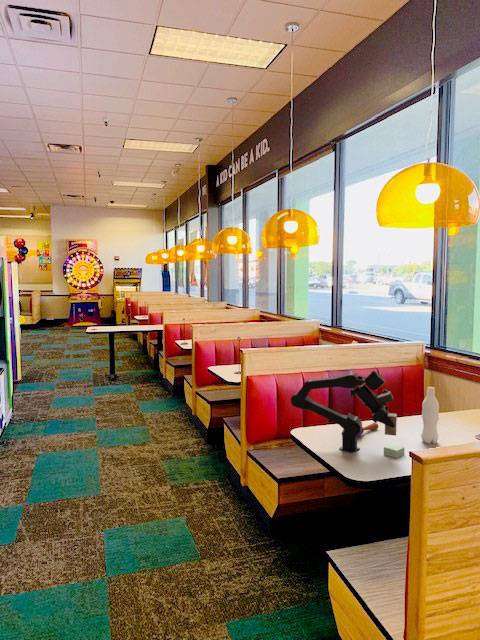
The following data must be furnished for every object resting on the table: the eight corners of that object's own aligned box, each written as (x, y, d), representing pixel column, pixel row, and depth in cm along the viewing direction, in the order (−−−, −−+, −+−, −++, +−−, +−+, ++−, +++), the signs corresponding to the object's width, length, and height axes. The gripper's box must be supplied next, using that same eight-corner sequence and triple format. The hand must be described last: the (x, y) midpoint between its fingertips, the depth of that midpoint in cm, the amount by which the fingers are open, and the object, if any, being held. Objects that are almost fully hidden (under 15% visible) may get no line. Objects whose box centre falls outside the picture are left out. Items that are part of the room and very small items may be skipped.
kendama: (382, 422, 234) (358, 428, 220) (379, 434, 235) (355, 440, 221) (371, 417, 238) (347, 423, 224) (368, 429, 239) (345, 435, 225)
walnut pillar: (384, 434, 201) (385, 415, 200) (384, 431, 205) (385, 412, 205) (396, 435, 200) (396, 416, 199) (396, 432, 204) (396, 413, 203)
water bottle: (439, 441, 218) (441, 386, 216) (436, 445, 212) (437, 390, 210) (423, 438, 222) (424, 384, 220) (419, 442, 216) (420, 388, 214)
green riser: (396, 457, 199) (396, 450, 198) (383, 454, 203) (383, 447, 203) (404, 454, 203) (404, 447, 202) (391, 450, 207) (391, 443, 207)
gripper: (381, 390, 193) (409, 419, 191) (382, 380, 211) (408, 407, 208) (360, 407, 196) (388, 437, 194) (363, 396, 214) (388, 423, 212)
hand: (394, 425), depth 202 cm, fingers closed on walnut pillar, 4 cm apart
